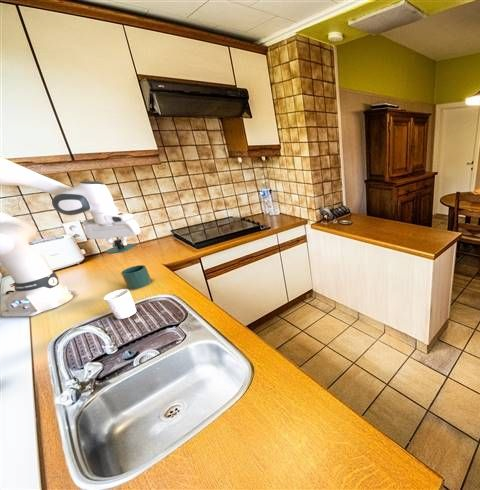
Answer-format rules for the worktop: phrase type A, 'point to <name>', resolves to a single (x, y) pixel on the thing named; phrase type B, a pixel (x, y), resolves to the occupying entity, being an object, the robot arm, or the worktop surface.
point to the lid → (120, 247)
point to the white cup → (121, 303)
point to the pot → (136, 277)
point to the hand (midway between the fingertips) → (120, 245)
